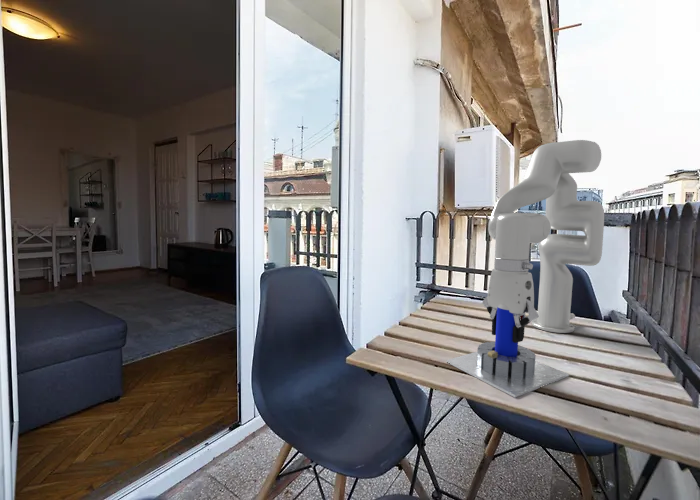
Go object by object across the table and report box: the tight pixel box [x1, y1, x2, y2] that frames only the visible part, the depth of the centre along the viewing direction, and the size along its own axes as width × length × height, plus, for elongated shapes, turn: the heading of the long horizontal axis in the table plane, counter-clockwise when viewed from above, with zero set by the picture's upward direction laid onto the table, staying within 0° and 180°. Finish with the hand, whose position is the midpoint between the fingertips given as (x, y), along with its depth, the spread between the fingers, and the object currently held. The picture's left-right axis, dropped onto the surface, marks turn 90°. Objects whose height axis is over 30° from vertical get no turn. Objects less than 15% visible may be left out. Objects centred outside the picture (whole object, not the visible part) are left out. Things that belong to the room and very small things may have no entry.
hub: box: [445, 341, 570, 399], centre depth 89 cm, size 20×20×5 cm
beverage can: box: [494, 304, 519, 357], centre depth 88 cm, size 5×5×15 cm
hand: (507, 337), depth 88 cm, fingers closed on beverage can, 5 cm apart
